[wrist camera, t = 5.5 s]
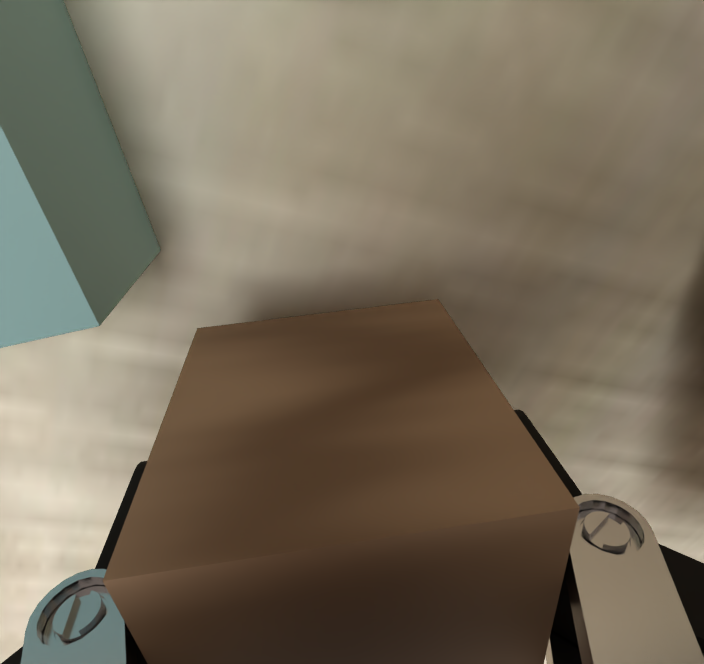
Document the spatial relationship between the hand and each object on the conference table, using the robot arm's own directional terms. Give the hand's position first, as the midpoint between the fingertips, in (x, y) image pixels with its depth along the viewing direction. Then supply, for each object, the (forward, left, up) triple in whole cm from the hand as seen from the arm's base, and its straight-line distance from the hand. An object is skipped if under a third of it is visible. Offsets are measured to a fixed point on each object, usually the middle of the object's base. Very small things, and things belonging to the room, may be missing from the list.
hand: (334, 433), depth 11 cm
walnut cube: (0, 0, -1) cm, 1 cm away
